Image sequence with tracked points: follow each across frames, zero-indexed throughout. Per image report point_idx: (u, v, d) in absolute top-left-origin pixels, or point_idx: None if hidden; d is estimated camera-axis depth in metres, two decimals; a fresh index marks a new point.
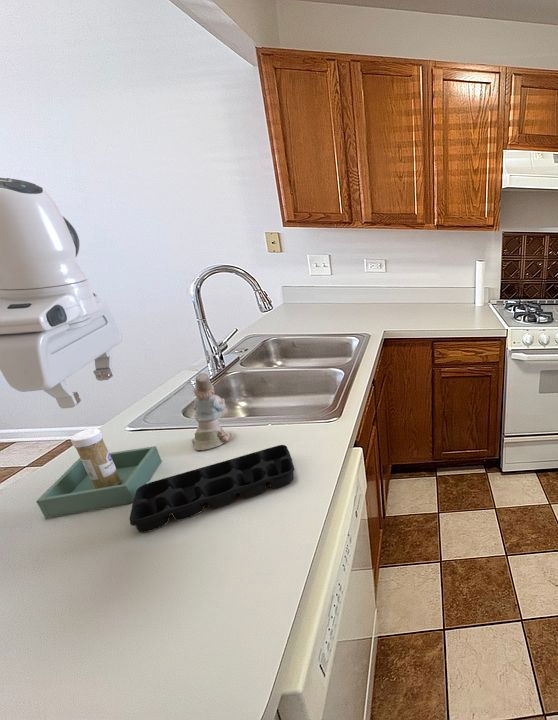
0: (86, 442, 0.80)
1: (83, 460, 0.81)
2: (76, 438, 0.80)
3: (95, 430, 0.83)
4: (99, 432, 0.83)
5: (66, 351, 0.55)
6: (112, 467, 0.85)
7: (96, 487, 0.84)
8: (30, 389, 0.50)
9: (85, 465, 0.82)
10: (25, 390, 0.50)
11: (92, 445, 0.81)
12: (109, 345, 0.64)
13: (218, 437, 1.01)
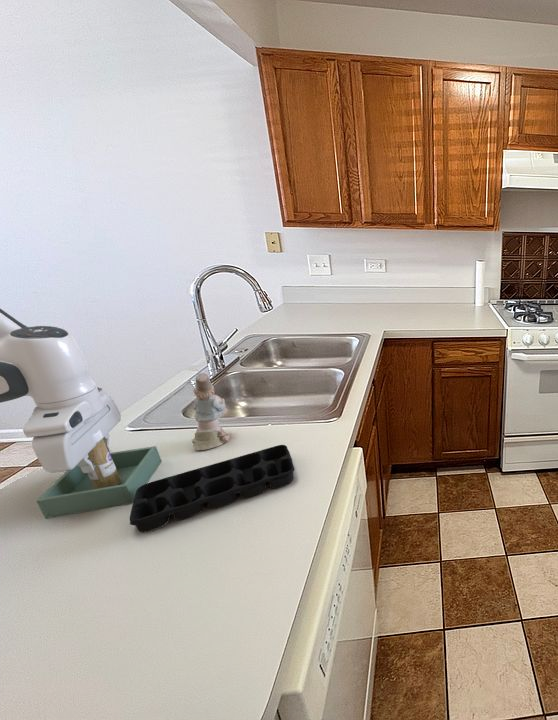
0: None
1: None
2: None
3: None
4: (99, 432, 0.83)
5: (82, 440, 0.78)
6: (112, 467, 0.85)
7: (96, 487, 0.84)
8: (58, 471, 0.74)
9: None
10: (54, 472, 0.74)
11: None
12: (111, 426, 0.87)
13: (218, 437, 1.01)
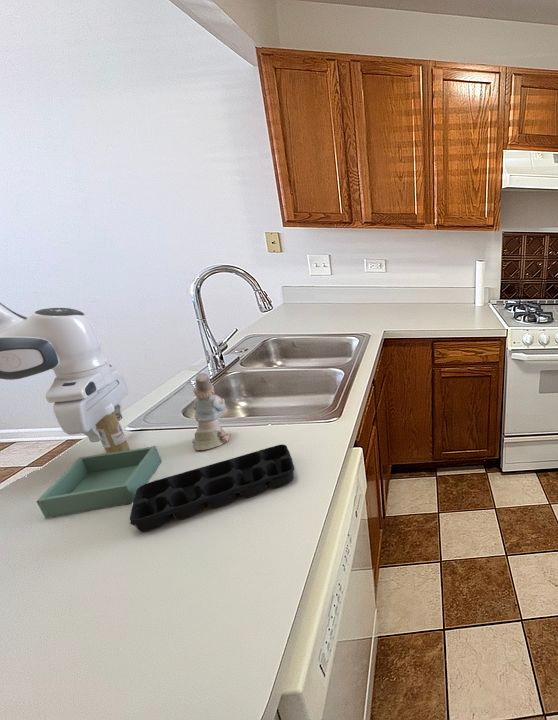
0: None
1: (97, 429, 0.93)
2: None
3: None
4: (111, 405, 0.94)
5: (95, 408, 0.89)
6: (123, 436, 0.97)
7: None
8: (75, 433, 0.85)
9: None
10: (72, 433, 0.85)
11: (105, 416, 0.93)
12: (120, 399, 0.98)
13: (218, 437, 1.01)
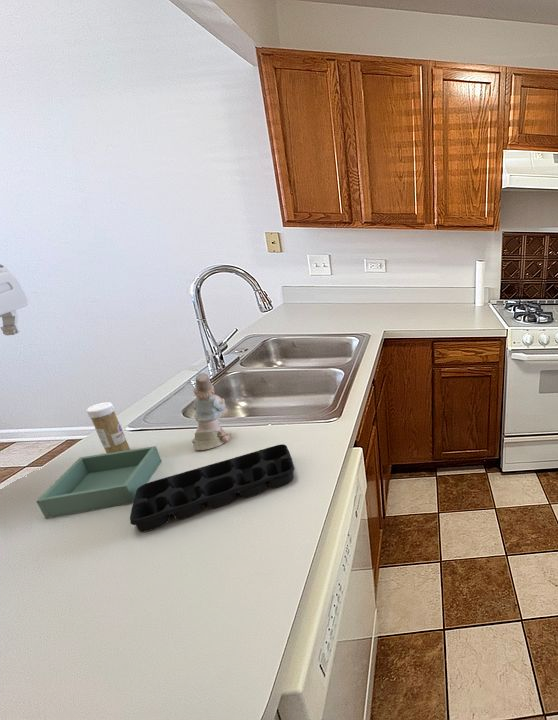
0: (100, 413, 0.92)
1: (97, 429, 0.93)
2: (91, 410, 0.91)
3: (108, 403, 0.94)
4: (111, 405, 0.94)
5: None
6: (123, 436, 0.97)
7: None
8: None
9: (99, 434, 0.93)
10: None
11: (105, 416, 0.93)
12: (13, 307, 0.79)
13: (218, 437, 1.01)
